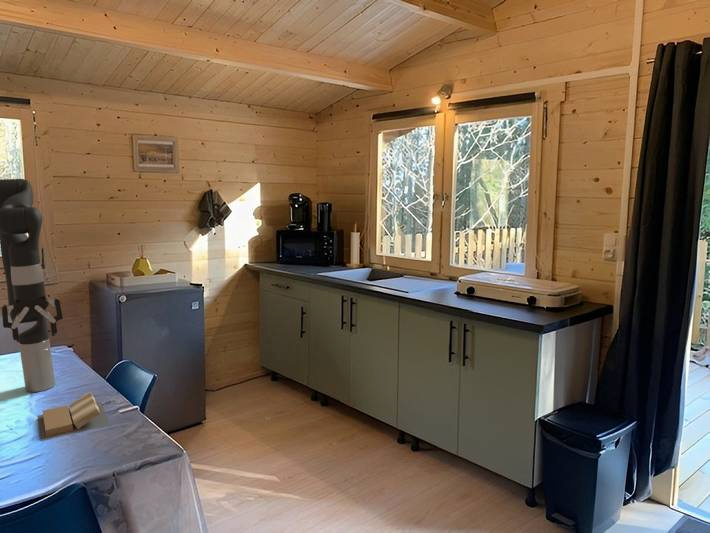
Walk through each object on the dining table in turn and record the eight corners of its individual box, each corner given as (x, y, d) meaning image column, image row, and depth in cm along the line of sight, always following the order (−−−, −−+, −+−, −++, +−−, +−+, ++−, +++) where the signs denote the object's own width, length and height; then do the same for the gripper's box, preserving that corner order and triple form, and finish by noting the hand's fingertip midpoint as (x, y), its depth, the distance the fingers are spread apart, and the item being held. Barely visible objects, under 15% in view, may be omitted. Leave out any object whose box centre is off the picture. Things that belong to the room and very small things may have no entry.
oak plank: (72, 409, 175) (68, 405, 174) (93, 396, 178) (90, 391, 177) (77, 429, 161) (73, 423, 161) (100, 413, 164) (96, 408, 163)
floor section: (37, 417, 172) (36, 409, 171) (101, 403, 181) (100, 395, 180) (41, 443, 155) (39, 434, 154) (110, 426, 164) (109, 417, 164)
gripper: (56, 275, 159) (63, 330, 161) (-3, 282, 151) (5, 339, 154) (58, 279, 152) (65, 336, 155) (-4, 286, 145) (5, 346, 148)
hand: (35, 338), depth 155 cm, fingers open, 8 cm apart
